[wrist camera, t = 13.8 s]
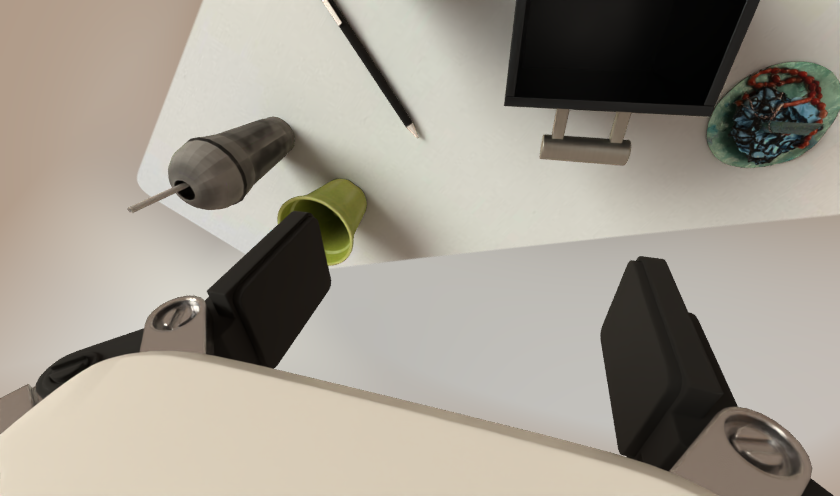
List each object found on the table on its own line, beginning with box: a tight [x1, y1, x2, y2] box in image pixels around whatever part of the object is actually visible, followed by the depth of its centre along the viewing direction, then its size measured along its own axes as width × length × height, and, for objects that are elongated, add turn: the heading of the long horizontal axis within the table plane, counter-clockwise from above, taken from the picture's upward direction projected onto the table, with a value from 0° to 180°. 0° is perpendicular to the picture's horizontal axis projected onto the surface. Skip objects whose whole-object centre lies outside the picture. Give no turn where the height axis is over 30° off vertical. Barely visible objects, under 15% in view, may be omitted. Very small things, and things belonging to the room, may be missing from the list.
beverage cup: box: [128, 117, 295, 213], centre depth 38 cm, size 7×7×20 cm
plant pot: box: [277, 179, 367, 266], centre depth 45 cm, size 9×9×9 cm
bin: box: [504, 0, 760, 166], centre depth 26 cm, size 14×12×13 cm
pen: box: [322, 0, 418, 138], centre depth 37 cm, size 1×19×1 cm, turn 35°
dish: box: [707, 62, 840, 168], centre depth 31 cm, size 8×7×8 cm
